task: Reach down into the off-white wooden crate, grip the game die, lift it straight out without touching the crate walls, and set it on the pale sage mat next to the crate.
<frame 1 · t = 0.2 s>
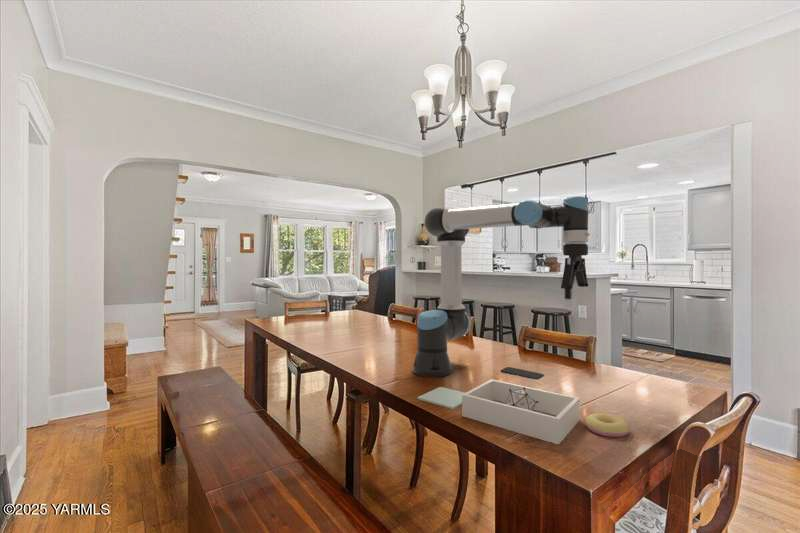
hand: (575, 307, 127), 28 cm above the table, tool pointing down, fingers open, 13 cm apart
mat: (446, 398, 120), on the table
phone: (521, 374, 146), on the table
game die: (520, 418, 104), resting in crate
crate: (520, 418, 104), on the table
donut: (606, 431, 97), on the table
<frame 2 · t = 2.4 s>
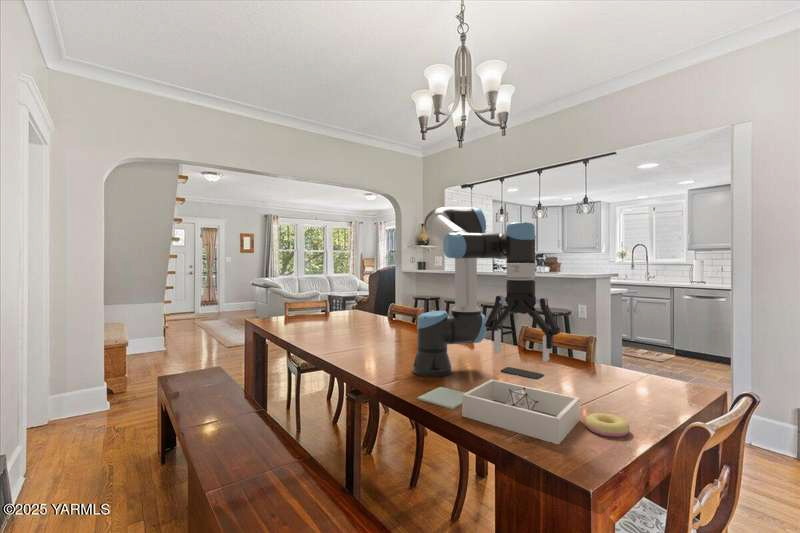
hand: (520, 356, 104), 17 cm above the table, tool pointing down, fingers open, 13 cm apart
nothing on the table moved.
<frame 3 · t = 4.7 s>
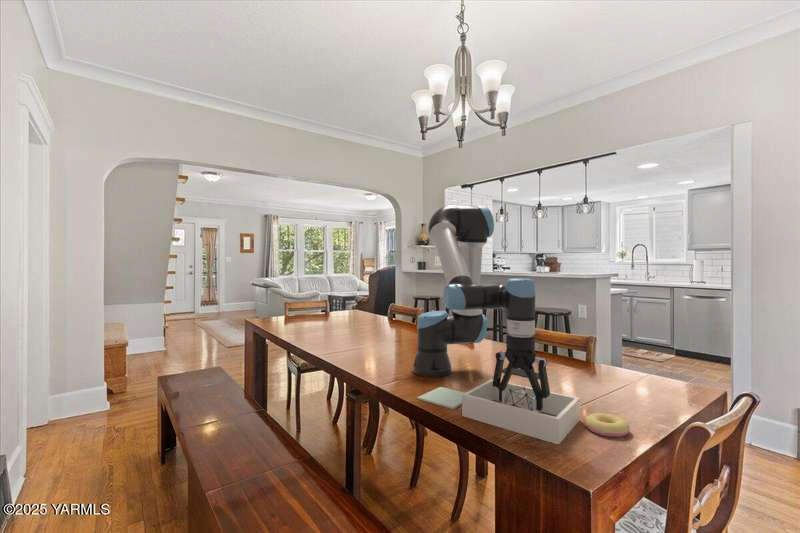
hand: (520, 417, 104), 0 cm above the table, tool pointing down, fingers closed on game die, 8 cm apart
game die: (520, 418, 104), resting in crate, touching gripper
everything else where it was.
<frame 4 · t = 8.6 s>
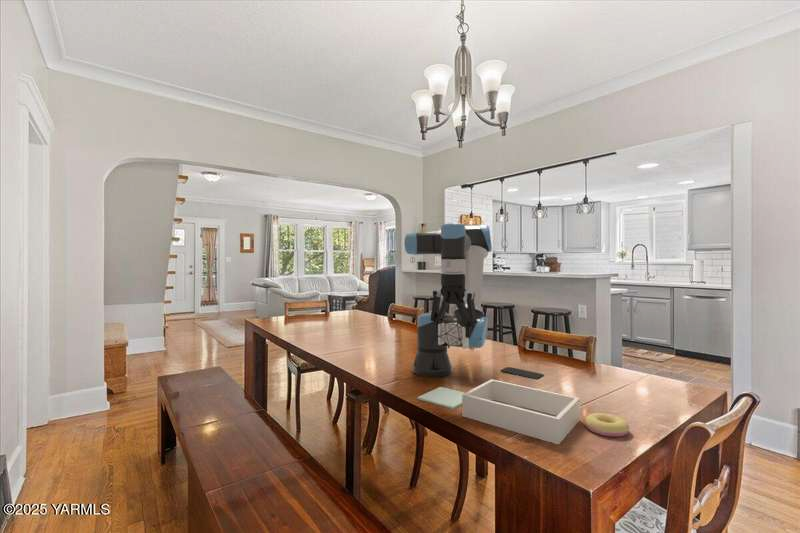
hand: (453, 345, 119), 17 cm above the table, tool pointing down, fingers closed on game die, 8 cm apart
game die: (453, 347, 118), point 16 cm above the table, touching gripper
everything else where it was.
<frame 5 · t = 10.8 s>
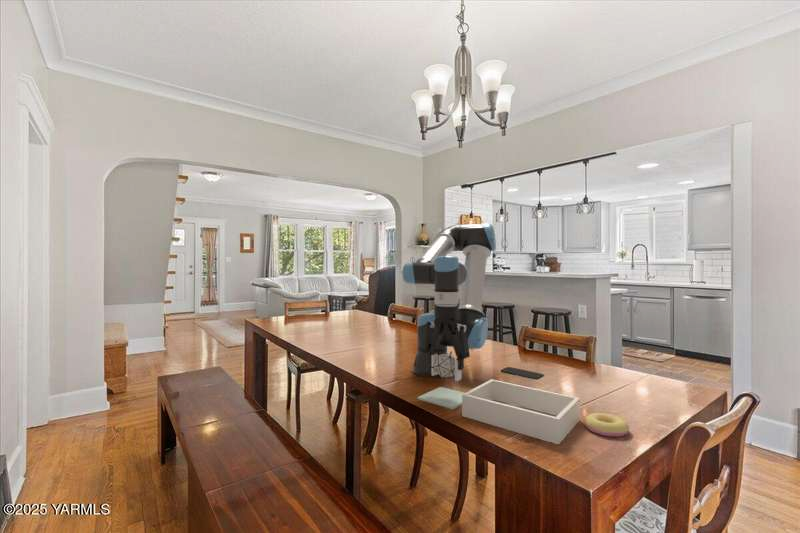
hand: (446, 377, 119), 7 cm above the table, tool pointing down, fingers closed on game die, 8 cm apart
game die: (446, 378, 119), point 6 cm above the table, touching gripper
everything else where it was.
when the fingers open (2 cm above the table, at t = 12.6 s): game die drops 1 cm, resting on mat.
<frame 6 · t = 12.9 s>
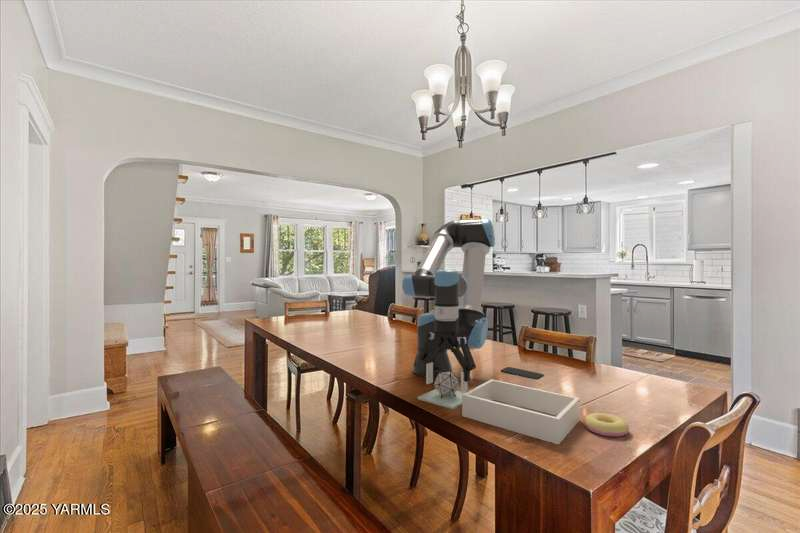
hand: (446, 387, 120), 3 cm above the table, tool pointing down, fingers open, 12 cm apart
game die: (446, 396, 120), resting on mat
everything else where it was.
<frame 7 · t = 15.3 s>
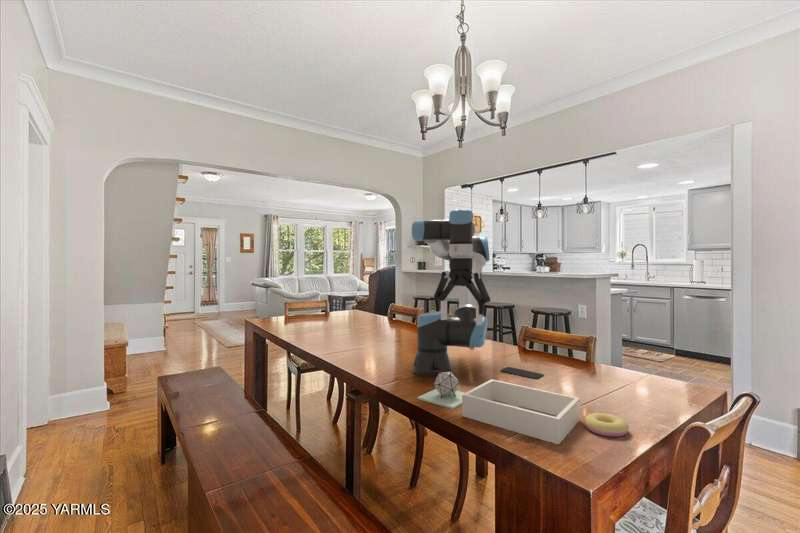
hand: (460, 322, 125), 23 cm above the table, tool pointing down, fingers open, 13 cm apart
nothing on the table moved.
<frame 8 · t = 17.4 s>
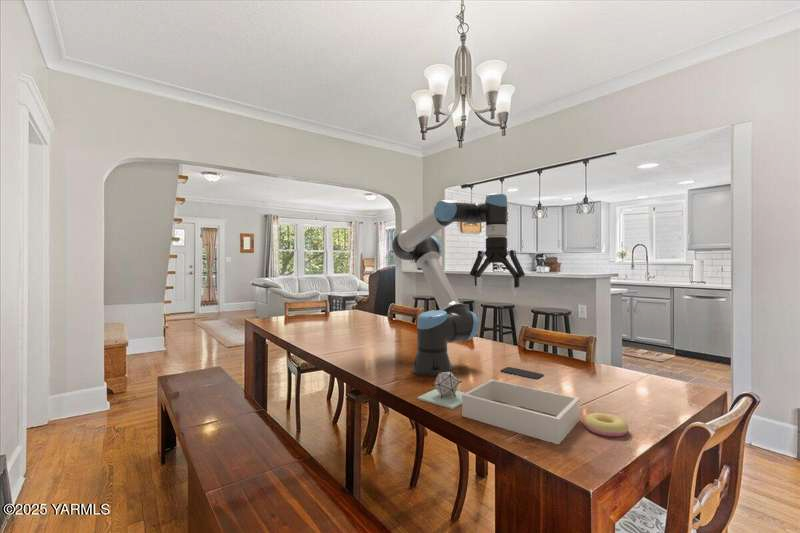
hand: (496, 295, 137), 31 cm above the table, tool pointing down, fingers open, 13 cm apart
nothing on the table moved.
at the end: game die inside the target area on the mat (0.0 cm from its centre), point 0.4 cm above the mat's base; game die touching mat; the gripper is holding nothing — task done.
